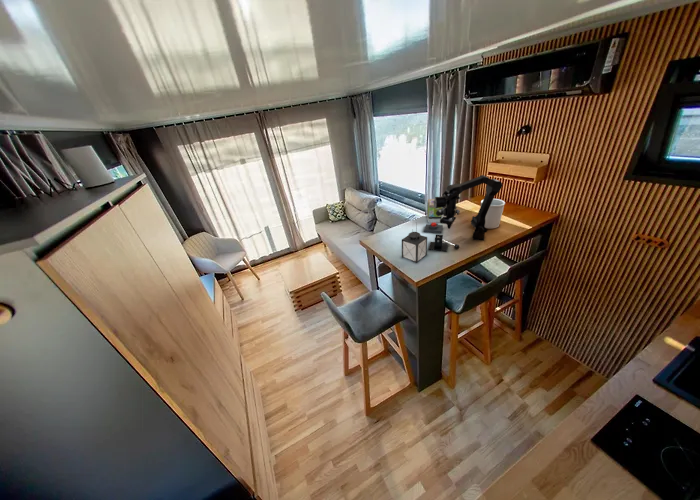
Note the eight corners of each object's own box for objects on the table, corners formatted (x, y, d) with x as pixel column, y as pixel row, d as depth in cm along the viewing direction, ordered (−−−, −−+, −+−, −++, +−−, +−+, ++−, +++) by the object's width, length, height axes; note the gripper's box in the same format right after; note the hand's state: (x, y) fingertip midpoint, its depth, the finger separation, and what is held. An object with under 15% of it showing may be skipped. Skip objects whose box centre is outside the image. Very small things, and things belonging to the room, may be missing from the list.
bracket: (447, 244, 167) (448, 233, 162) (446, 252, 159) (447, 240, 155) (430, 243, 171) (431, 232, 167) (428, 250, 163) (428, 239, 159)
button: (436, 224, 185) (436, 222, 184) (435, 226, 183) (436, 224, 182) (431, 224, 187) (431, 222, 186) (430, 226, 184) (430, 224, 183)
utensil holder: (485, 218, 192) (488, 196, 184) (504, 224, 181) (509, 201, 172) (473, 224, 186) (476, 202, 177) (492, 230, 175) (497, 207, 166)
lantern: (416, 263, 152) (417, 221, 138) (401, 257, 160) (401, 217, 145) (426, 255, 159) (428, 214, 144) (411, 250, 166) (412, 210, 152)
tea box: (441, 222, 195) (442, 204, 188) (428, 223, 198) (428, 205, 190) (439, 215, 208) (440, 197, 200) (426, 215, 210) (427, 198, 203)
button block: (442, 227, 188) (442, 222, 186) (441, 233, 180) (441, 228, 178) (426, 226, 193) (426, 221, 191) (424, 232, 185) (424, 227, 183)
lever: (458, 248, 161) (460, 244, 159) (457, 250, 159) (460, 247, 157) (435, 238, 164) (438, 234, 162) (435, 241, 162) (437, 237, 160)
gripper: (443, 199, 167) (442, 220, 175) (432, 209, 155) (431, 231, 163) (461, 201, 160) (458, 223, 168) (450, 212, 149) (448, 235, 156)
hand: (448, 228), depth 164 cm, fingers closed
